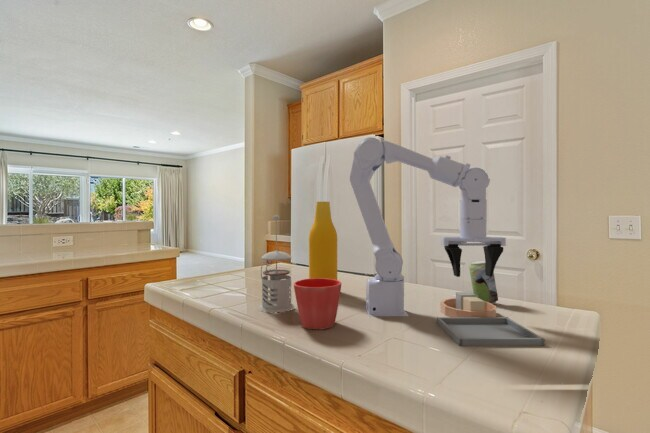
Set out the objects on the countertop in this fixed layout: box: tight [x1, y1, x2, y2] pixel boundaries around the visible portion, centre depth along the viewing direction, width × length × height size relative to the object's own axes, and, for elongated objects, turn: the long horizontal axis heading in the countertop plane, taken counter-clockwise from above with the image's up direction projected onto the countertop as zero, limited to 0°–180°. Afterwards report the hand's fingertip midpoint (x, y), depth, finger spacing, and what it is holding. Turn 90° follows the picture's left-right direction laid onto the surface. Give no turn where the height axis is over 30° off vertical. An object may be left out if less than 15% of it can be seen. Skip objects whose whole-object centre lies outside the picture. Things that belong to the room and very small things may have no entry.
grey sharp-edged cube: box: [455, 291, 477, 310], centre depth 85 cm, size 4×3×4 cm
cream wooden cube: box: [463, 297, 484, 311], centre depth 80 cm, size 4×3×4 cm
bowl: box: [439, 297, 497, 317], centre depth 83 cm, size 12×12×3 cm
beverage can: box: [468, 260, 499, 305], centre depth 94 cm, size 6×7×12 cm
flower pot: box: [293, 278, 342, 330], centre depth 77 cm, size 11×11×10 cm
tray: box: [436, 316, 546, 347], centre depth 70 cm, size 16×13×2 cm
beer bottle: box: [308, 201, 338, 280], centre depth 108 cm, size 9×9×29 cm
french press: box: [258, 214, 295, 314], centre depth 91 cm, size 10×12×25 cm
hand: (472, 276), depth 80 cm, fingers open, 7 cm apart
